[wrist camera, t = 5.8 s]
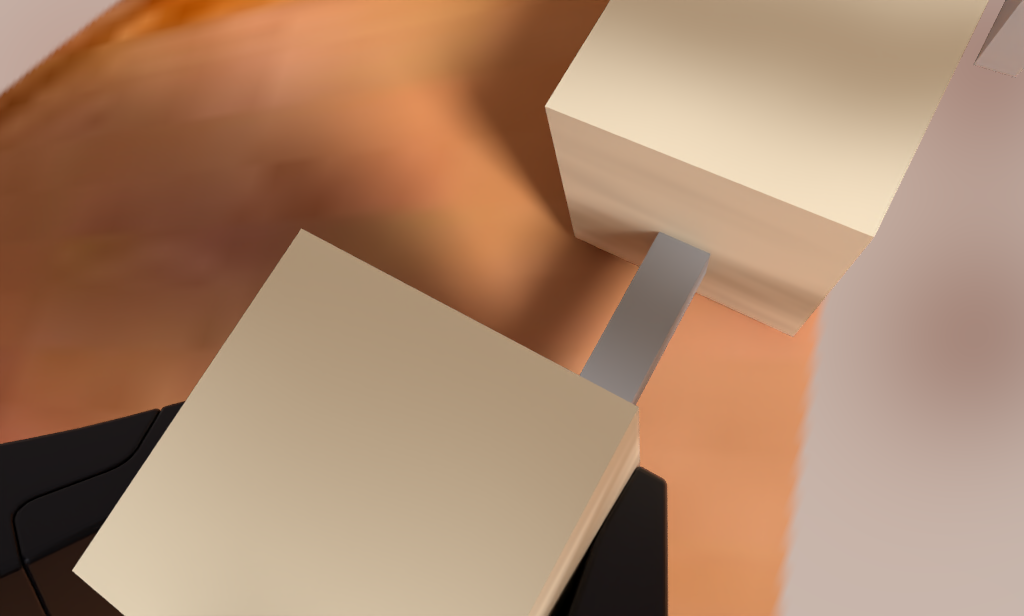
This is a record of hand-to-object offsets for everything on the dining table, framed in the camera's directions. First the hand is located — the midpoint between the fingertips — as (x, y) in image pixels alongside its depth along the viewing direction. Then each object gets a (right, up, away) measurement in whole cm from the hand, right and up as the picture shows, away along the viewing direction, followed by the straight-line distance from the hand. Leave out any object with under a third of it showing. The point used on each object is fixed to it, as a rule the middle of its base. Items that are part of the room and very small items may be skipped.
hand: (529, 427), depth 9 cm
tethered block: (+4, +1, +8) cm, 9 cm away
